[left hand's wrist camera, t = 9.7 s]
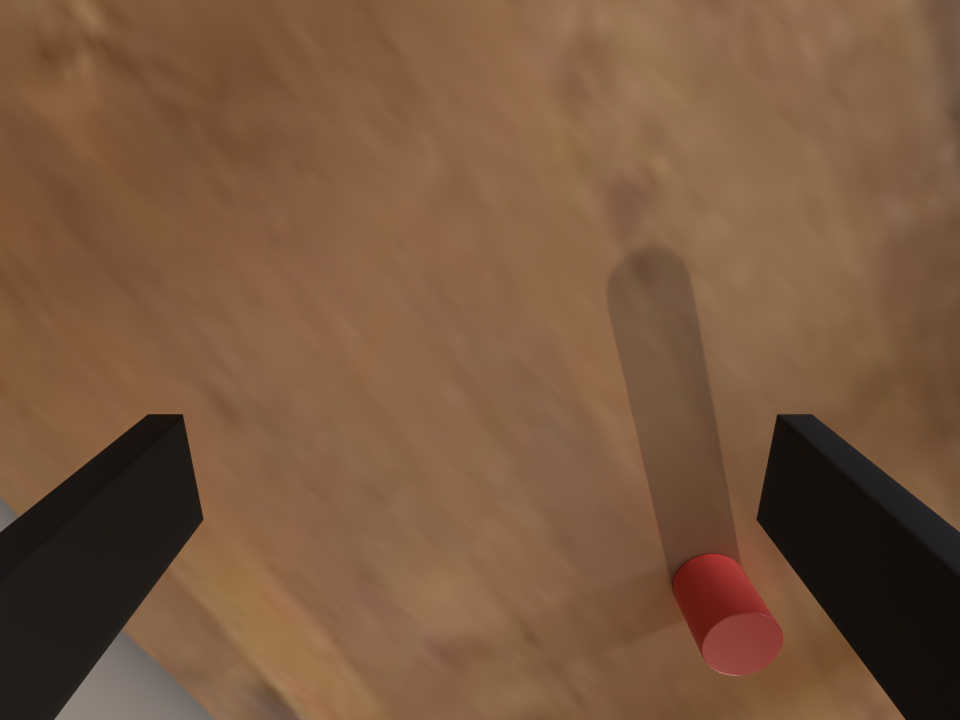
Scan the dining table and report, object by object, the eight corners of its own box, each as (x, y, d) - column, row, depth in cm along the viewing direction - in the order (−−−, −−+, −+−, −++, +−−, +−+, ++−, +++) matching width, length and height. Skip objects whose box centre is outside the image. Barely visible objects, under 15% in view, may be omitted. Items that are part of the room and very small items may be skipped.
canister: (662, 569, 33) (690, 630, 29) (731, 542, 33) (770, 601, 29) (685, 620, 35) (715, 686, 30) (752, 596, 34) (792, 659, 30)
